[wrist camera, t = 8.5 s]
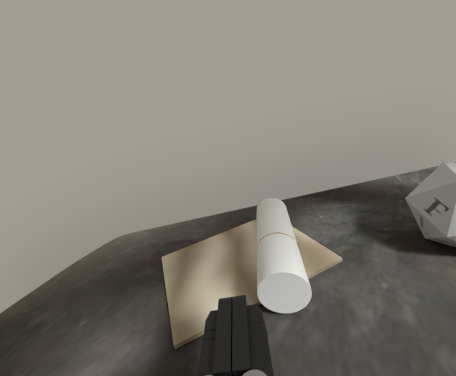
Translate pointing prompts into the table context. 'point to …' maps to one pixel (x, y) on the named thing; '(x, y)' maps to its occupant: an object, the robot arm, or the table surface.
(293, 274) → the tube
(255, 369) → the robot arm
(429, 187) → the die
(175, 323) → the birch board
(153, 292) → the table surface
